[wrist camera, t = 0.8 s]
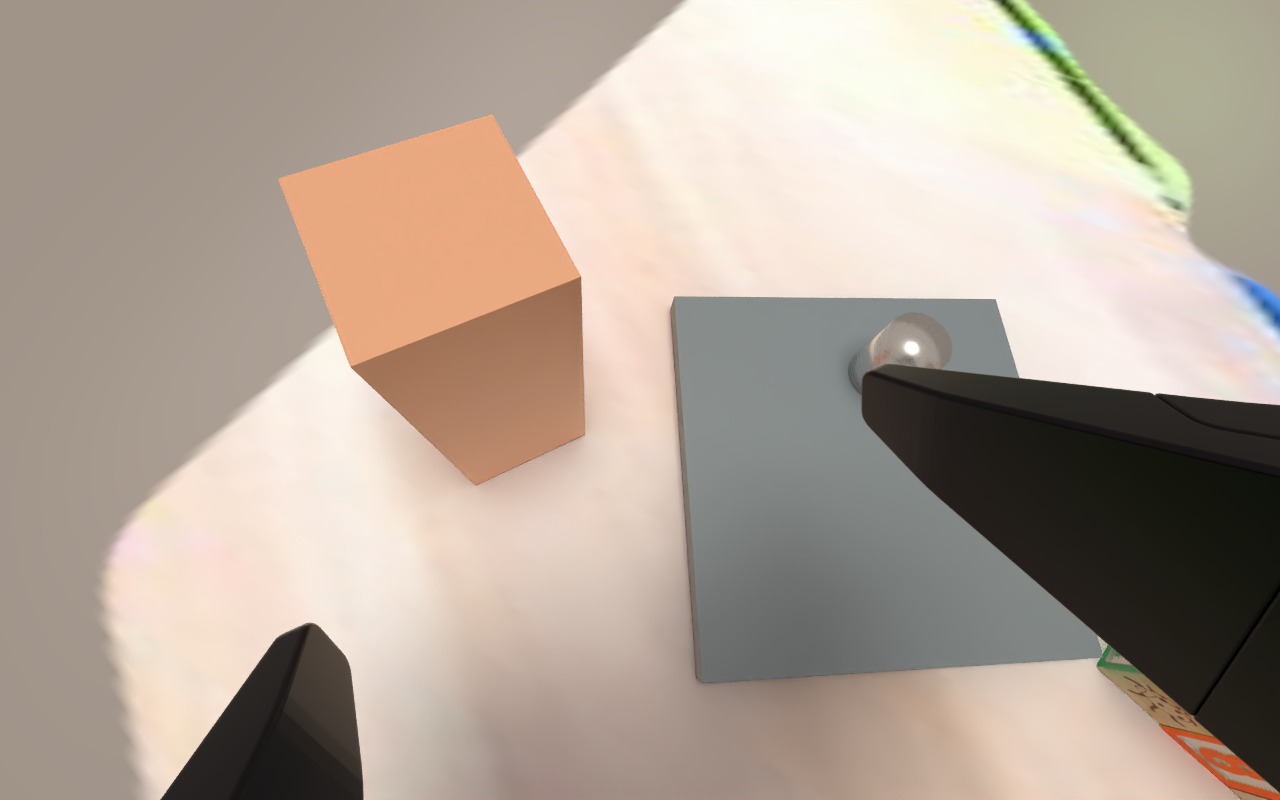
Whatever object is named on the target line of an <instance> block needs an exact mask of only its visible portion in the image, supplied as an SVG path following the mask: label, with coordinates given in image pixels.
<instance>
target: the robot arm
mask: <svg viewBox="0 0 1280 800" xmlns="http://www.w3.org/2000/svg"><path fill="white" fill-rule="evenodd" d="M861 412H862V417H863V419H864V421H865V423H866V424H867V425H868V427H869V428H870V429H871V430H872V431H873V432H874V433H875V434H876V435H877V436H878V437H879V438H880V439H881V440H882V441H883V442H884V443H885V445H886V446H887V447H888V448H889V449H890V450H891V451H892V452H893V453H894V454H895V455H896V456H897V457H898V458H899V459H900V460H901V461H902V462H903V463H904V465H905V466H906V467H907V468H908V469H909V470H910V471H911V472H912V473H913V474H914V475H915V476H916V477H917V478H918V479H919V480H920V481H921V482H922V483H923V484H924V485H925V486H926V487H927V488H928V489H929V490H930V491H931V492H932V493H934V494H935V495H936V496H937V497H938V498H939V499H940V500H941V501H943V502H944V503H945V504H946V505H947V506H948V507H950V508H951V509H952V510H953V511H954V512H955V513H956V514H958V515H959V516H960V517H961V518H962V519H963V520H965V521H966V522H967V523H968V524H969V525H970V526H972V527H973V528H974V529H975V530H976V531H977V532H978V533H980V534H981V535H982V536H983V537H984V538H985V539H987V540H988V541H989V542H990V543H991V544H992V545H994V546H995V547H996V548H997V549H998V550H999V551H1000V552H1002V553H1003V554H1004V555H1005V556H1006V557H1007V558H1009V559H1010V560H1011V561H1012V562H1013V563H1014V564H1016V565H1017V566H1018V567H1019V568H1020V569H1021V570H1022V571H1024V572H1025V573H1026V574H1027V575H1028V576H1029V577H1031V578H1032V579H1033V580H1034V581H1035V582H1036V583H1038V584H1039V585H1040V586H1041V587H1042V588H1043V589H1044V590H1046V591H1047V592H1048V593H1049V594H1050V595H1051V596H1053V597H1054V598H1055V599H1056V600H1057V601H1058V602H1060V603H1061V604H1062V605H1063V606H1064V607H1065V608H1066V609H1068V610H1069V611H1070V612H1071V613H1072V614H1073V615H1075V616H1076V617H1077V618H1078V619H1079V620H1080V621H1082V622H1083V623H1084V624H1085V625H1086V626H1087V627H1088V628H1090V629H1091V630H1092V631H1093V632H1094V633H1095V634H1097V635H1098V636H1099V637H1100V638H1101V639H1102V640H1103V641H1105V642H1106V643H1107V644H1108V645H1109V646H1110V647H1112V648H1113V649H1114V650H1115V651H1116V652H1117V653H1119V654H1120V655H1121V656H1122V657H1123V658H1124V659H1125V660H1127V661H1128V662H1129V663H1130V664H1131V665H1132V666H1134V667H1135V668H1136V669H1137V670H1138V671H1139V672H1141V673H1142V674H1143V675H1144V676H1145V677H1146V678H1147V679H1149V680H1150V681H1151V682H1152V683H1153V684H1154V685H1156V686H1157V687H1158V688H1159V689H1160V690H1161V691H1163V692H1164V693H1165V694H1166V695H1167V696H1168V697H1169V698H1171V699H1172V700H1173V701H1174V702H1175V703H1176V704H1178V705H1179V706H1180V707H1181V708H1182V709H1183V710H1185V711H1186V712H1187V713H1188V714H1189V715H1192V716H1193V718H1194V719H1195V720H1196V721H1197V722H1198V723H1199V724H1200V725H1201V726H1202V727H1204V728H1205V729H1206V730H1207V731H1208V732H1209V733H1211V734H1212V735H1213V736H1214V737H1215V738H1216V739H1218V740H1219V741H1220V742H1221V743H1222V744H1223V745H1224V746H1226V747H1227V748H1228V749H1229V750H1230V751H1231V752H1233V753H1234V754H1235V755H1236V756H1237V757H1238V758H1239V759H1241V760H1242V761H1243V762H1244V763H1245V764H1246V765H1248V766H1249V767H1250V768H1251V769H1252V770H1253V771H1255V772H1256V773H1257V774H1258V775H1259V776H1260V777H1261V778H1263V779H1264V780H1265V781H1266V782H1267V783H1268V784H1270V785H1271V786H1272V787H1273V788H1274V789H1275V790H1276V791H1278V792H1279V793H1280V405H1271V404H1258V403H1246V402H1236V401H1225V400H1215V399H1205V398H1195V397H1186V396H1177V395H1168V394H1155V395H1154V394H1152V393H1149V392H1140V391H1131V390H1122V389H1113V388H1104V387H1095V386H1086V385H1077V384H1068V383H1059V382H1050V381H1041V380H1032V379H1023V378H1014V377H1005V376H996V375H987V374H978V373H969V372H960V371H951V370H942V369H933V368H924V367H915V366H906V365H897V364H883V365H880V366H878V367H875V368H873V369H871V370H869V371H867V372H866V373H865V374H864V375H863V377H862V394H861ZM161 800H363V776H362V764H361V755H360V746H359V738H358V729H357V720H356V711H355V702H354V694H353V685H352V676H351V669H350V666H349V663H348V660H347V658H346V657H345V655H344V654H343V653H342V651H341V650H340V649H339V648H338V647H337V646H336V645H335V644H334V642H333V641H332V640H331V639H330V638H329V637H328V636H327V635H326V633H325V632H324V631H323V630H322V629H321V628H320V627H319V626H318V625H316V624H314V623H306V624H304V625H301V626H299V627H297V628H295V629H292V630H290V631H288V632H286V633H284V634H282V635H280V636H279V637H278V638H276V640H275V641H274V642H273V643H272V645H271V646H270V648H269V649H268V650H267V652H266V653H265V655H264V656H263V657H262V659H261V660H260V662H259V663H258V664H257V666H256V667H255V669H254V670H253V671H252V673H251V674H250V675H249V677H248V678H247V680H246V681H245V682H244V684H243V685H242V687H241V688H240V689H239V691H238V692H237V694H236V695H235V696H234V698H233V699H232V701H231V702H230V703H229V705H228V706H227V708H226V709H225V710H224V712H223V713H222V715H221V716H220V717H219V719H218V720H217V722H216V723H215V724H214V726H213V727H212V729H211V730H210V731H209V733H208V734H207V736H206V737H205V738H204V740H203V741H202V743H201V744H200V745H199V747H198V748H197V750H196V751H195V752H194V754H193V755H192V756H191V758H190V759H189V761H188V762H187V763H186V765H185V766H184V768H183V769H182V770H181V772H180V773H179V775H178V776H177V777H176V779H175V780H174V782H173V783H172V784H171V786H170V787H169V789H168V790H167V791H166V793H165V794H164V796H163V797H162V798H161Z"/></svg>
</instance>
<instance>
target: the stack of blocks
mask: <svg viewBox="0 0 1280 800" xmlns="http://www.w3.org/2000/svg"><path fill="white" fill-rule="evenodd" d="M1097 668H1098V669H1099V670H1100V671H1101V672H1102V673H1103V674H1104V675H1105V676H1106V677H1108V678H1109V679H1110V680H1111V681H1112V682H1113V683H1114V684H1115V685H1116V686H1118V687H1119V688H1120V689H1121V690H1122V691H1123V692H1124V693H1125V694H1127V695H1128V696H1129V697H1130V698H1131V699H1132V700H1133V701H1134V702H1135V703H1137V704H1138V705H1139V706H1140V707H1141V708H1142V709H1143V710H1144V711H1146V712H1147V713H1148V714H1149V715H1150V716H1151V717H1152V718H1153V719H1154V720H1156V721H1157V722H1158V723H1159V725H1160V726H1161V728H1162V729H1163V730H1164V731H1165V732H1166V733H1167V734H1169V735H1170V736H1171V737H1172V738H1173V739H1174V740H1175V741H1176V742H1178V743H1179V744H1180V745H1181V746H1182V747H1183V748H1184V749H1185V750H1187V751H1188V752H1189V753H1190V754H1191V755H1192V756H1193V757H1194V758H1196V759H1197V760H1198V761H1199V762H1200V763H1201V764H1202V765H1204V766H1205V767H1206V768H1207V769H1208V770H1209V771H1210V772H1211V773H1212V774H1214V775H1215V776H1216V777H1217V778H1218V779H1219V780H1220V781H1221V782H1223V783H1224V784H1225V785H1227V786H1228V787H1229V788H1230V789H1231V790H1232V791H1233V792H1234V793H1235V794H1236V795H1237V796H1238V797H1239V798H1240V799H1241V800H1280V793H1279V792H1278V791H1276V790H1275V789H1274V788H1273V787H1272V786H1271V785H1270V784H1268V783H1267V782H1266V781H1265V780H1264V779H1263V778H1261V777H1260V776H1259V775H1258V774H1257V773H1256V772H1255V771H1253V770H1252V769H1251V768H1250V767H1249V766H1248V765H1246V764H1245V763H1244V762H1243V761H1242V760H1241V759H1239V758H1238V757H1237V756H1236V755H1235V754H1234V753H1233V752H1231V751H1230V750H1229V749H1228V748H1227V747H1226V746H1224V745H1223V744H1222V743H1221V742H1220V741H1219V740H1218V739H1216V738H1215V737H1214V736H1213V735H1212V734H1211V733H1209V732H1208V731H1207V730H1206V729H1205V728H1204V727H1202V726H1201V725H1200V724H1199V723H1198V722H1197V721H1196V720H1195V719H1194V718H1193V716H1192V715H1189V714H1188V713H1187V712H1186V711H1185V710H1183V709H1182V708H1181V707H1180V706H1179V705H1178V704H1176V703H1175V702H1174V701H1173V700H1172V699H1171V698H1169V697H1168V696H1167V695H1166V694H1165V693H1164V692H1163V691H1161V690H1160V689H1159V688H1158V687H1157V686H1156V685H1154V684H1153V683H1152V682H1151V681H1150V680H1149V679H1147V678H1146V677H1145V676H1144V675H1143V674H1142V673H1141V672H1139V671H1138V670H1137V669H1136V668H1135V667H1134V666H1132V665H1131V664H1130V663H1129V662H1128V661H1127V660H1125V659H1124V658H1123V657H1122V656H1121V655H1120V654H1119V653H1117V652H1116V651H1115V650H1114V649H1113V648H1112V647H1110V646H1109V645H1108V646H1107V648H1106V650H1105V652H1104V654H1103V658H1101V659H1100V660H1099V662H1098V664H1097Z"/></svg>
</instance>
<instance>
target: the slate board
mask: <svg viewBox="0 0 1280 800" xmlns="http://www.w3.org/2000/svg"><path fill="white" fill-rule="evenodd" d="M912 312H915V313H922V314H925V315H928V316H930V317H932V318H933V319H935V320H936V321H938V322H939V323H940V324H941V325H942V326H943V327H944V328H945V330H946V331H947V333H948V334H949V336H950V339H951V342H952V356H951V358H950V361H949V362H948V364H947V365H946V366H945V367H943V368H942V370H951V371H960V372H969V373H978V374H987V375H996V376H1005V377H1014V378H1019V376H1018V372H1017V369H1016V366H1015V362H1014V359H1013V356H1012V352H1011V349H1010V346H1009V343H1008V339H1007V336H1006V333H1005V329H1004V326H1003V323H1002V319H1001V316H1000V313H999V309H998V306H997V303H996V299H893V298H778V297H674V299H673V303H672V306H671V323H672V337H673V351H674V366H675V380H676V394H677V408H678V422H679V437H680V451H681V465H682V479H683V493H684V508H685V522H686V536H687V550H688V564H689V579H690V593H691V607H692V621H693V635H694V650H695V664H696V678H697V679H698V680H699V681H701V682H702V683H713V682H729V681H745V680H760V679H776V678H791V677H807V676H823V675H838V674H854V673H869V672H885V671H901V670H916V669H932V668H947V667H963V666H979V665H994V664H1010V663H1026V662H1041V661H1057V660H1072V659H1088V658H1103V654H1102V651H1101V648H1100V644H1099V641H1098V638H1097V635H1096V634H1095V633H1094V632H1093V631H1092V630H1091V629H1090V628H1088V627H1087V626H1086V625H1085V624H1084V623H1083V622H1082V621H1080V620H1079V619H1078V618H1077V617H1076V616H1075V615H1073V614H1072V613H1071V612H1070V611H1069V610H1068V609H1066V608H1065V607H1064V606H1063V605H1062V604H1061V603H1060V602H1058V601H1057V600H1056V599H1055V598H1054V597H1053V596H1051V595H1050V594H1049V593H1048V592H1047V591H1046V590H1044V589H1043V588H1042V587H1041V586H1040V585H1039V584H1038V583H1036V582H1035V581H1034V580H1033V579H1032V578H1031V577H1029V576H1028V575H1027V574H1026V573H1025V572H1024V571H1022V570H1021V569H1020V568H1019V567H1018V566H1017V565H1016V564H1014V563H1013V562H1012V561H1011V560H1010V559H1009V558H1007V557H1006V556H1005V555H1004V554H1003V553H1002V552H1000V551H999V550H998V549H997V548H996V547H995V546H994V545H992V544H991V543H990V542H989V541H988V540H987V539H985V538H984V537H983V536H982V535H981V534H980V533H978V532H977V531H976V530H975V529H974V528H973V527H972V526H970V525H969V524H968V523H967V522H966V521H965V520H963V519H962V518H961V517H960V516H959V515H958V514H956V513H955V512H954V511H953V510H952V509H951V508H950V507H948V506H947V505H946V504H945V503H944V502H943V501H941V500H940V499H939V498H938V497H937V496H936V495H935V494H934V493H932V492H931V491H930V490H929V489H928V488H927V487H926V486H925V485H924V484H923V483H922V482H921V481H920V480H919V479H918V478H917V477H916V476H915V475H914V474H913V473H912V472H911V471H910V470H909V469H908V468H907V467H906V466H905V465H904V463H903V462H902V461H901V460H900V459H899V458H898V457H897V456H896V455H895V454H894V453H893V452H892V451H891V450H890V449H889V448H888V447H887V446H886V445H885V443H884V442H883V441H882V440H881V439H880V438H879V437H878V436H877V435H876V434H875V433H874V432H873V431H872V430H871V429H870V428H869V427H868V425H867V424H866V423H865V421H864V419H863V417H862V412H861V395H860V394H859V393H858V392H857V391H856V390H855V389H854V388H853V386H852V384H851V382H850V380H849V376H848V366H849V363H850V361H851V359H852V358H853V356H854V355H855V354H857V353H858V352H859V351H860V350H861V349H862V348H863V347H864V346H866V345H867V344H868V343H869V342H870V341H871V340H872V339H873V338H874V337H876V336H877V335H878V334H879V333H880V332H881V331H882V330H883V329H885V328H886V327H887V326H888V325H889V324H890V323H891V322H892V321H894V320H895V319H896V318H897V317H899V316H900V315H902V314H905V313H912Z"/></svg>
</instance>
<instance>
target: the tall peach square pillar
mask: <svg viewBox="0 0 1280 800" xmlns="http://www.w3.org/2000/svg"><path fill="white" fill-rule="evenodd" d="M279 182H280V184H281V187H282V189H283V192H284V195H285V197H286V200H287V202H288V205H289V208H290V210H291V213H292V215H293V218H294V220H295V223H296V226H297V229H298V231H299V234H300V236H301V239H302V242H303V244H304V247H305V249H306V252H307V255H308V257H309V260H310V263H311V265H312V268H313V270H314V273H315V276H316V278H317V281H318V283H319V286H320V288H321V291H322V294H323V297H324V299H325V302H326V304H327V307H328V310H329V312H330V315H331V317H332V320H333V323H334V325H335V328H336V330H337V333H338V336H339V338H340V341H341V344H342V346H343V349H344V351H345V354H346V357H347V359H348V362H349V364H350V367H351V368H352V369H353V370H354V371H355V372H356V373H358V374H359V375H360V376H361V377H362V378H363V379H364V380H365V381H366V382H367V383H368V384H369V385H370V386H371V387H372V388H373V389H374V390H376V391H377V392H378V393H379V394H380V395H381V396H382V397H383V398H384V399H385V400H386V401H387V402H388V403H389V404H390V405H391V406H392V407H394V408H395V409H396V410H397V411H398V412H399V413H400V414H401V415H402V416H403V417H404V418H405V419H406V420H407V421H408V422H409V423H410V424H411V425H413V426H414V427H415V428H416V429H417V430H418V431H419V432H420V433H421V434H422V435H423V436H424V437H425V438H426V439H427V440H428V441H429V442H431V443H432V444H433V445H434V446H435V447H436V448H437V449H438V450H439V451H440V452H441V453H442V454H443V455H444V456H445V457H446V458H447V459H449V460H450V461H451V462H452V463H453V464H454V465H455V466H456V467H457V468H458V469H459V470H460V471H461V472H462V473H463V474H464V475H465V476H466V477H468V478H469V479H470V480H471V481H472V482H473V483H474V484H475V485H478V484H480V483H482V482H484V481H486V480H488V479H490V478H493V477H495V476H497V475H499V474H501V473H503V472H506V471H508V470H510V469H512V468H514V467H516V466H518V465H521V464H523V463H525V462H527V461H529V460H531V459H533V458H536V457H538V456H540V455H542V454H544V453H546V452H548V451H551V450H553V449H555V448H557V447H559V446H561V445H564V444H566V443H568V442H570V441H572V440H574V439H576V438H579V437H581V436H583V435H585V418H584V377H583V336H582V295H581V276H580V274H579V272H578V270H577V268H576V267H575V265H574V263H573V261H572V259H571V257H570V256H569V254H568V252H567V250H566V248H565V246H564V245H563V243H562V241H561V239H560V237H559V235H558V234H557V232H556V230H555V228H554V226H553V225H552V223H551V221H550V219H549V217H548V215H547V214H546V212H545V210H544V208H543V206H542V204H541V203H540V201H539V199H538V197H537V195H536V193H535V192H534V190H533V188H532V186H531V184H530V182H529V181H528V179H527V177H526V175H525V173H524V171H523V170H522V168H521V166H520V164H519V162H518V160H517V159H516V157H515V155H514V153H513V151H512V149H511V148H510V146H509V144H508V142H507V140H506V139H505V137H504V135H503V133H502V131H501V129H500V127H499V126H498V124H497V122H496V120H495V119H494V116H493V115H489V116H486V117H482V118H479V119H475V120H472V121H469V122H465V123H462V124H459V125H455V126H452V127H449V128H446V129H442V130H439V131H435V132H432V133H429V134H425V135H422V136H419V137H416V138H412V139H409V140H406V141H402V142H399V143H395V144H392V145H389V146H385V147H382V148H379V149H375V150H372V151H369V152H365V153H362V154H359V155H355V156H352V157H349V158H345V159H342V160H339V161H335V162H332V163H329V164H326V165H322V166H319V167H315V168H312V169H309V170H305V171H302V172H299V173H295V174H292V175H289V176H285V177H282V178H279Z"/></svg>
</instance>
